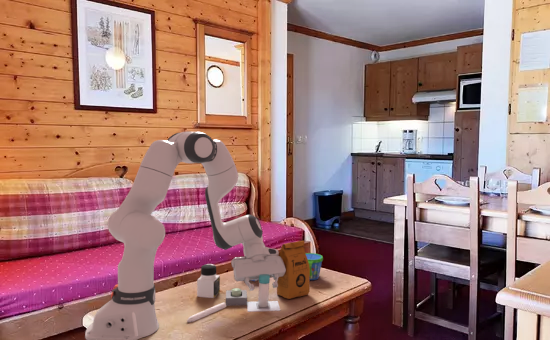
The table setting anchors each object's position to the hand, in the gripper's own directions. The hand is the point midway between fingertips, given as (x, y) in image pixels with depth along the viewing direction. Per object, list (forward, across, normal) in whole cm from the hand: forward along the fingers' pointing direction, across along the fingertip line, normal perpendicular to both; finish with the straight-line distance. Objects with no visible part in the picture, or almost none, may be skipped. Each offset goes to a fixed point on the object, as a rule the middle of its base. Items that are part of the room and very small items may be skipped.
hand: (263, 288), depth 157 cm
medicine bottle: (-8, -17, +19) cm, 27 cm away
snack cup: (-12, +31, +22) cm, 40 cm away
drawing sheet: (+5, 0, +6) cm, 7 cm away
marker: (+5, -22, +6) cm, 23 cm away
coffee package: (0, +15, +10) cm, 19 cm away
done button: (-2, -8, +10) cm, 13 cm away
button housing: (-1, -8, +11) cm, 14 cm away
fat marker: (+4, 0, +5) cm, 7 cm away
